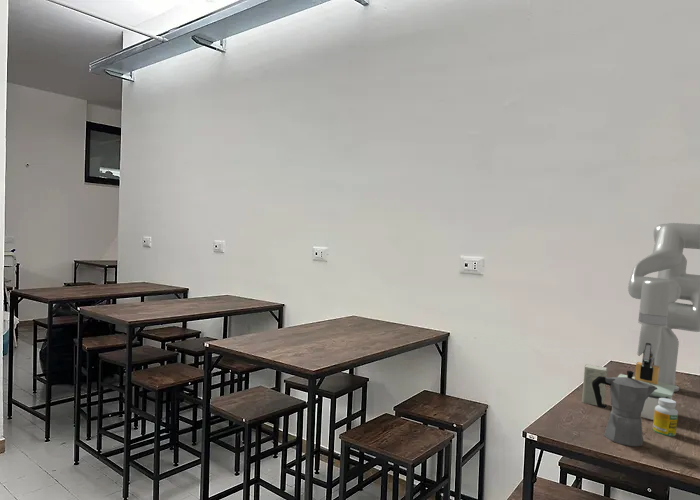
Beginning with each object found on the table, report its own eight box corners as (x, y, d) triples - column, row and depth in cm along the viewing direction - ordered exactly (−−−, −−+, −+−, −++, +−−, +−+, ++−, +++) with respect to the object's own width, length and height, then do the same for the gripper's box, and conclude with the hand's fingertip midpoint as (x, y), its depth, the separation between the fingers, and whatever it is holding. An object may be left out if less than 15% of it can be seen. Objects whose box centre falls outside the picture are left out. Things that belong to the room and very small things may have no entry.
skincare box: (604, 406, 156) (608, 367, 156) (603, 410, 152) (607, 370, 152) (582, 401, 159) (586, 363, 159) (580, 404, 155) (584, 366, 155)
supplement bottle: (658, 429, 139) (661, 395, 139) (679, 437, 135) (683, 402, 134) (648, 432, 136) (652, 398, 136) (669, 440, 132) (673, 404, 131)
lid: (619, 378, 161) (621, 358, 161) (674, 390, 152) (677, 369, 152) (612, 387, 151) (614, 366, 150) (671, 400, 142) (673, 378, 141)
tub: (618, 402, 160) (620, 381, 160) (670, 415, 152) (672, 392, 152) (612, 412, 151) (614, 389, 151) (666, 425, 142) (669, 401, 142)
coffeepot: (644, 436, 133) (651, 369, 132) (658, 451, 124) (666, 379, 123) (582, 427, 136) (589, 362, 136) (591, 440, 127) (598, 371, 126)
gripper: (642, 315, 163) (636, 370, 164) (635, 320, 150) (628, 381, 151) (669, 319, 158) (663, 376, 159) (664, 325, 145) (657, 387, 146)
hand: (646, 377), depth 155 cm, fingers closed on lid, 3 cm apart
